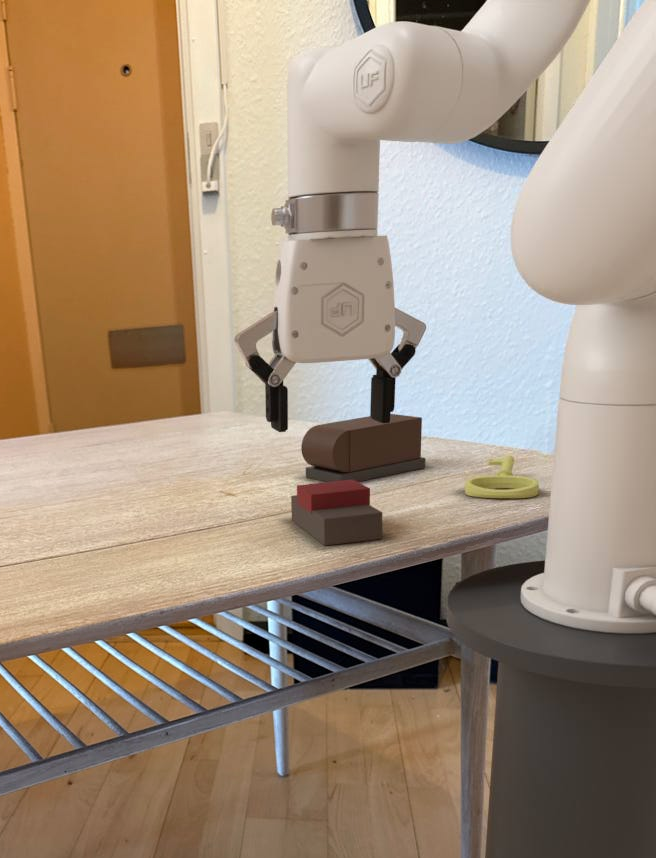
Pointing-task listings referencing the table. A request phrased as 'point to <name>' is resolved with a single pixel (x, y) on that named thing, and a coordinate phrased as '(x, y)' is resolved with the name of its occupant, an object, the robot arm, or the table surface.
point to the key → (502, 483)
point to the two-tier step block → (336, 512)
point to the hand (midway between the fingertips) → (330, 425)
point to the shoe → (363, 448)
